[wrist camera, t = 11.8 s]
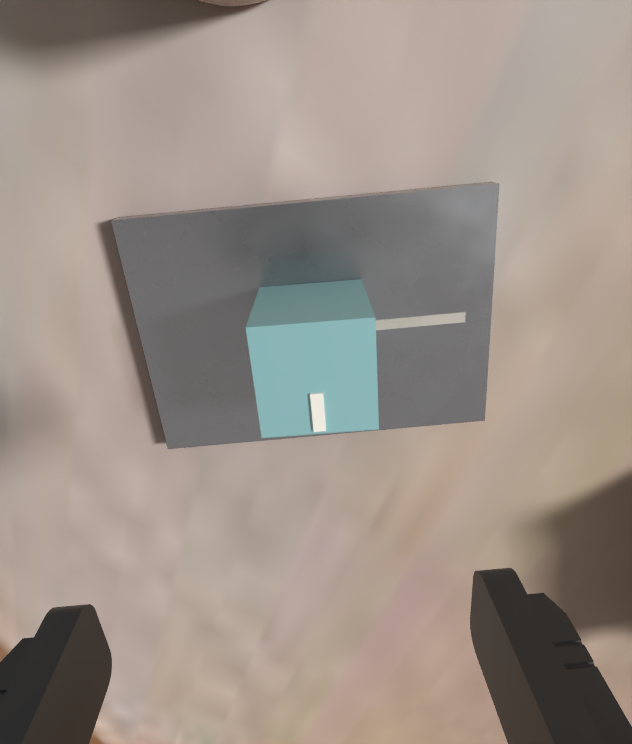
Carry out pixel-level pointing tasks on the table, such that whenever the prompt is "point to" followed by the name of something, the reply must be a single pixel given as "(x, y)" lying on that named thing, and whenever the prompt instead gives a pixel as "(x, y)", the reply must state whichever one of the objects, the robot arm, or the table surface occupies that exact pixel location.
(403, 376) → the shaft plate
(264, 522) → the table surface
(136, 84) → the table surface
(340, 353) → the teal plastic block
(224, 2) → the planter
